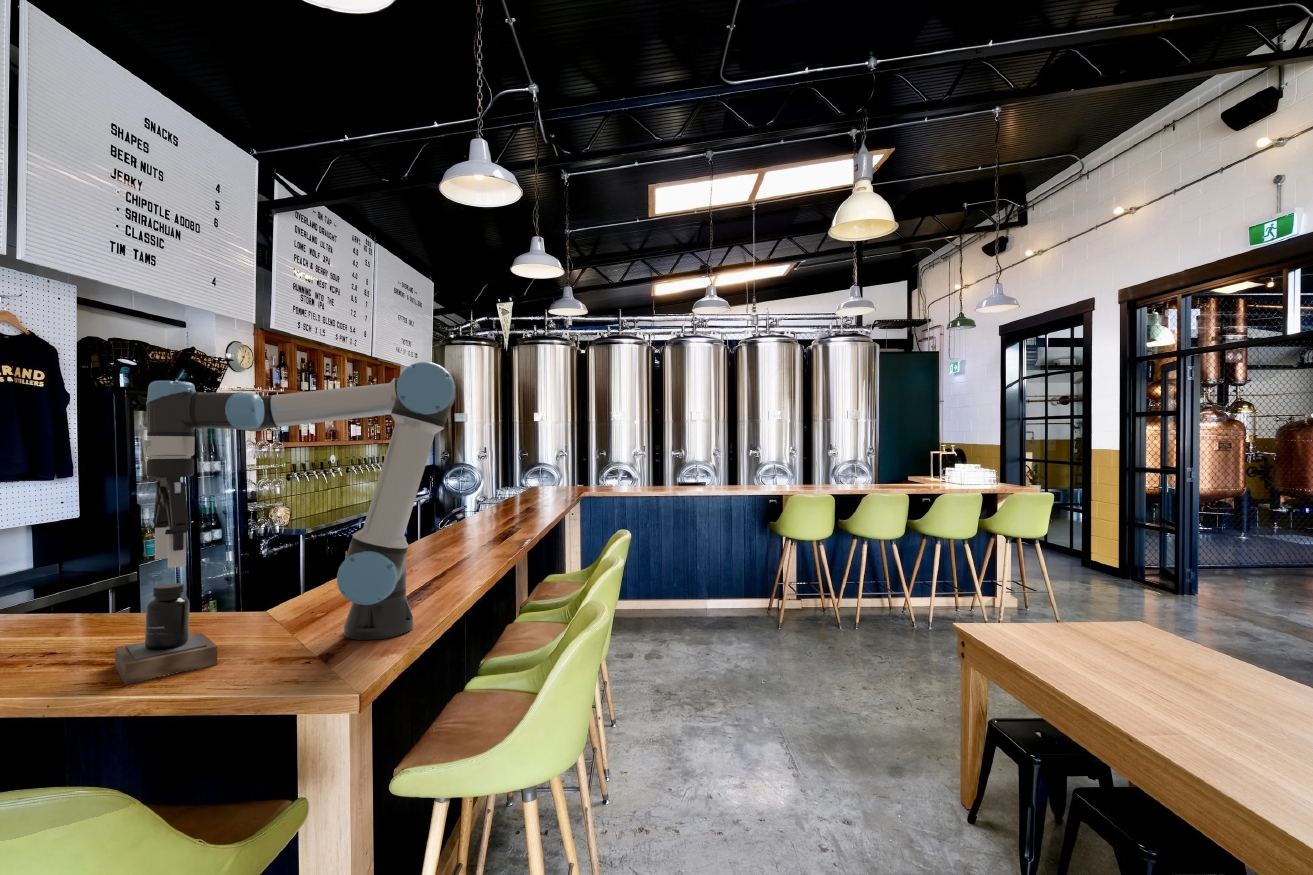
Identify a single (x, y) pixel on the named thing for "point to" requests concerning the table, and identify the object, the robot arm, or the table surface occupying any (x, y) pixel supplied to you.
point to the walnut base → (164, 659)
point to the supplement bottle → (167, 618)
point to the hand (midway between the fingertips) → (169, 562)
